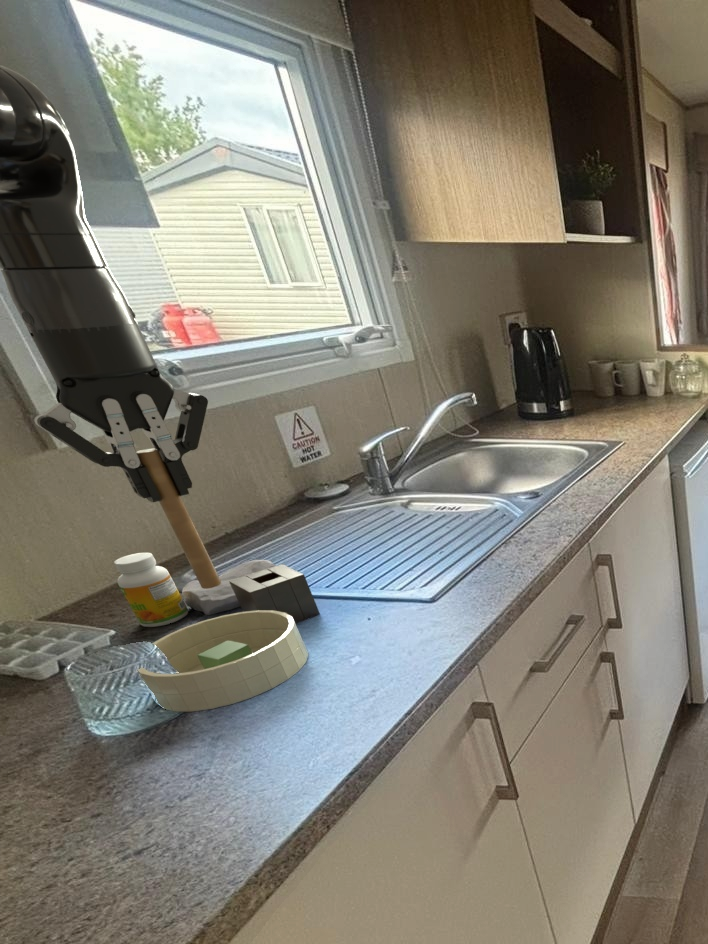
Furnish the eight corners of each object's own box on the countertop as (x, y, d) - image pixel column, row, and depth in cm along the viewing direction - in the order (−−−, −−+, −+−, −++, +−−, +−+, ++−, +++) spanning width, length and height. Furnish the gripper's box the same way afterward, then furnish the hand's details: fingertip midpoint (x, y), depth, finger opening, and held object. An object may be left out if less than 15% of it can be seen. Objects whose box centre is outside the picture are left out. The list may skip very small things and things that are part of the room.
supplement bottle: (131, 625, 94) (96, 563, 89) (173, 607, 98) (141, 548, 94) (157, 630, 92) (123, 568, 88) (198, 612, 97) (167, 552, 92)
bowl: (186, 732, 73) (162, 691, 70) (137, 689, 80) (114, 651, 77) (332, 666, 84) (317, 629, 81) (277, 634, 91) (262, 600, 88)
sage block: (230, 684, 80) (217, 659, 78) (209, 679, 80) (196, 655, 79) (260, 668, 83) (248, 644, 81) (239, 664, 84) (227, 639, 82)
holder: (270, 637, 90) (249, 592, 87) (249, 625, 94) (228, 581, 90) (321, 617, 95) (304, 574, 92) (300, 606, 99) (282, 563, 95)
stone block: (306, 599, 104) (271, 574, 108) (297, 574, 101) (261, 550, 105) (219, 635, 95) (184, 606, 99) (206, 608, 93) (171, 580, 96)
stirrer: (205, 590, 74) (138, 454, 67) (199, 586, 75) (131, 451, 67) (224, 584, 75) (160, 449, 68) (217, 580, 76) (153, 447, 69)
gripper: (159, 314, 69) (229, 475, 77) (-35, 327, 59) (69, 510, 67) (188, 317, 65) (258, 485, 73) (-13, 331, 55) (94, 524, 63)
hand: (168, 496), depth 70 cm, fingers closed on stirrer, 2 cm apart
